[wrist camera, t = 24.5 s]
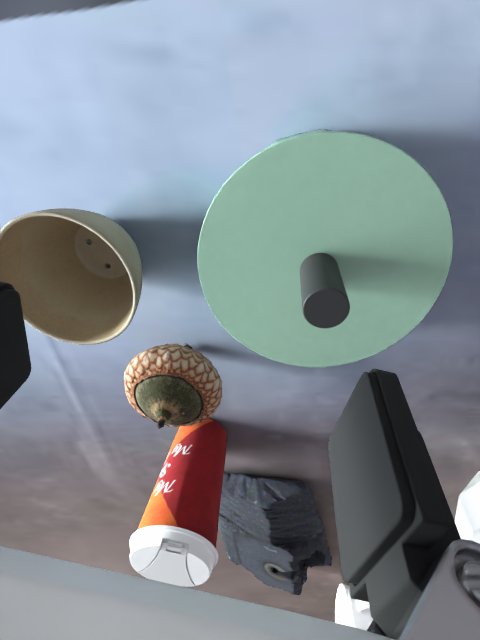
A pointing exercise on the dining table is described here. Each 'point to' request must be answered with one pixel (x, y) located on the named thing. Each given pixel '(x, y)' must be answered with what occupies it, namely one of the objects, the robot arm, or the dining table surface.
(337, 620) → the mug
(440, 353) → the dining table surface
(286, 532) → the dark slate chunk
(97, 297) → the flower pot
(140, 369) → the acorn
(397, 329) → the lid
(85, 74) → the dining table surface
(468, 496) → the crystal
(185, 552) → the paper cup
